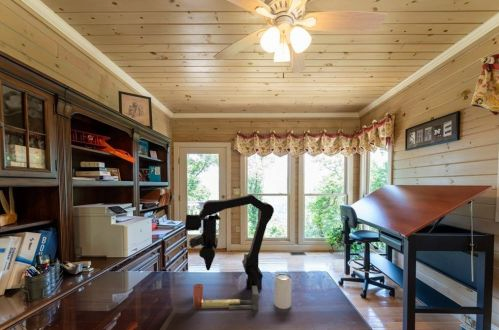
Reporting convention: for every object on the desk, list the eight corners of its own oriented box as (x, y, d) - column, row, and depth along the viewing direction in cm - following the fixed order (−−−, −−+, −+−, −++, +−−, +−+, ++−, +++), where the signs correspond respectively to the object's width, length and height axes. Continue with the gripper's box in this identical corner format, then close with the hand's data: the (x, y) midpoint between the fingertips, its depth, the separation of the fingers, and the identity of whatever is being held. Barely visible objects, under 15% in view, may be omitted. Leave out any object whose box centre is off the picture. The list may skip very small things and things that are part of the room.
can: (280, 313, 93) (280, 281, 93) (271, 305, 99) (271, 274, 99) (294, 309, 96) (294, 278, 96) (284, 301, 102) (284, 271, 102)
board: (263, 300, 102) (263, 283, 102) (267, 316, 91) (267, 296, 91) (197, 302, 101) (197, 284, 101) (192, 318, 90) (192, 298, 90)
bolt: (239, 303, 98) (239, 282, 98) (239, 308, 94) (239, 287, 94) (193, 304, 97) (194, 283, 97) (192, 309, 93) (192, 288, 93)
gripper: (194, 225, 117) (193, 258, 117) (186, 235, 98) (186, 275, 98) (218, 225, 118) (217, 258, 117) (214, 235, 99) (214, 274, 99)
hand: (209, 265), depth 108 cm, fingers open, 9 cm apart
